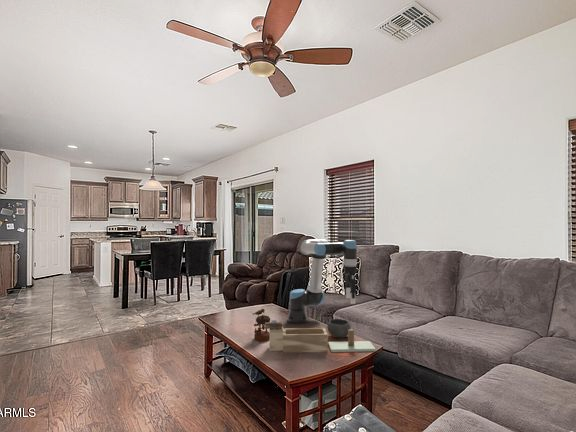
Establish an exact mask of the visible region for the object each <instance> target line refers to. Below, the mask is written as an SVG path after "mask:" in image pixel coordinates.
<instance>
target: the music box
mask: <svg viewBox="0 0 576 432" xmlns="http://www.w3.org/2000/svg"><path fill="white" fill-rule="evenodd" d="M265 311H266V310H265V308H261V309H260V310H256V311H255V312H253V313H252V315H253V316H254V315H255V323H254V324H253V327H255V329H254V331H253V332H254V334H253V335H254V341H255V342H258V343H259V342H260V343H265V342H270V331H268V329H265V322H271V317H270V316H269V315H266V314H265ZM256 327H257V328H256Z"/></svg>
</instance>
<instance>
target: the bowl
mask: <svg viewBox="0 0 576 432" xmlns="http://www.w3.org/2000/svg"><path fill="white" fill-rule="evenodd" d="M348 329H351V324H350V322H349V321H348V320H346V319H342V318H333V319H330V320H329V321H328V323H327V330H328V331H327V332H328V333H329V334H330V335H331V336H332V337H335V338H337V339H341V338H346V337H348Z"/></svg>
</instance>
